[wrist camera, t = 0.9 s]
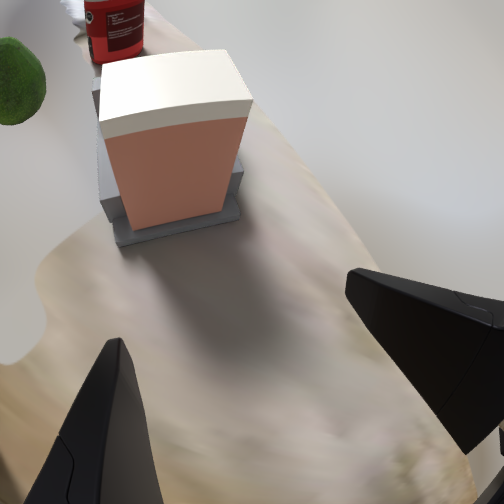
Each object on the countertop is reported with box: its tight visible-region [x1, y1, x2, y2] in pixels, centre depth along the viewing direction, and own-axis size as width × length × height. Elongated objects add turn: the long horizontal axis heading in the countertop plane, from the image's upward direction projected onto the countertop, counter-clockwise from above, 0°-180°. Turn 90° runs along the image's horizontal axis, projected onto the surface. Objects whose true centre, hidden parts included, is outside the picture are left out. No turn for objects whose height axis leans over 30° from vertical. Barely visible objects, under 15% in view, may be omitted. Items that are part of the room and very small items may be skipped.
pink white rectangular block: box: [99, 50, 253, 231], centre depth 17 cm, size 5×7×11 cm
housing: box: [92, 76, 244, 247], centre depth 21 cm, size 13×11×7 cm
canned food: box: [84, 0, 145, 65], centre depth 24 cm, size 8×8×11 cm
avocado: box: [0, 37, 46, 125], centre depth 17 cm, size 8×8×12 cm
